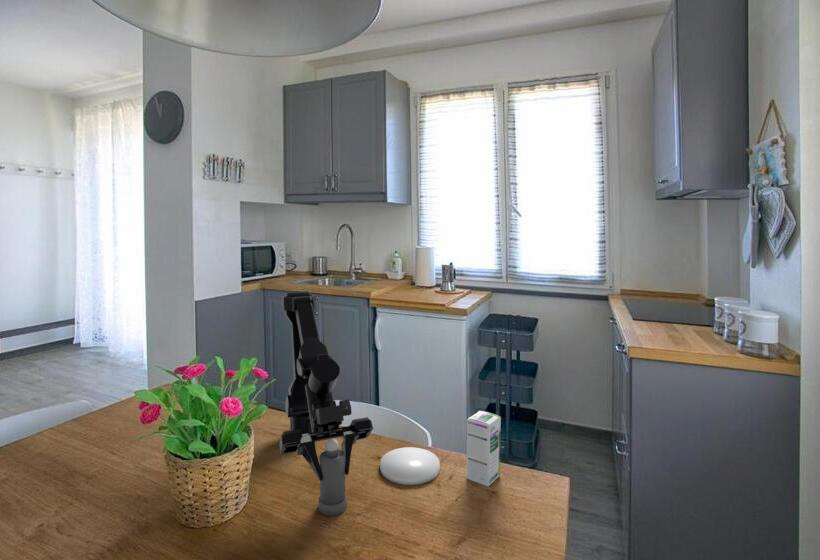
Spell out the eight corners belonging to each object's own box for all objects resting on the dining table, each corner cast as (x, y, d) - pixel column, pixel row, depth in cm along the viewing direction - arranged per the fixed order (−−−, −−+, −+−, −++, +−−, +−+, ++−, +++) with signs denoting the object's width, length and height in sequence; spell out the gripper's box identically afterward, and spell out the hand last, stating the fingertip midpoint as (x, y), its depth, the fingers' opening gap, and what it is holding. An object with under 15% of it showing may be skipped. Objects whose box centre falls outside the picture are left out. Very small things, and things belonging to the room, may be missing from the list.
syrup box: (488, 487, 95) (490, 424, 94) (465, 478, 99) (466, 417, 97) (500, 476, 100) (502, 415, 98) (477, 467, 103) (478, 409, 102)
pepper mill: (312, 509, 87) (311, 441, 86) (332, 495, 92) (331, 430, 90) (333, 519, 84) (332, 449, 83) (352, 504, 89) (352, 437, 87)
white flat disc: (368, 472, 101) (368, 466, 101) (402, 447, 113) (402, 442, 112) (419, 492, 93) (419, 485, 93) (449, 463, 105) (450, 457, 105)
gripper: (279, 393, 85) (289, 475, 76) (370, 381, 93) (388, 454, 84) (275, 416, 93) (284, 492, 85) (359, 403, 101) (375, 472, 92)
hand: (334, 477), depth 86 cm, fingers closed on pepper mill, 5 cm apart
